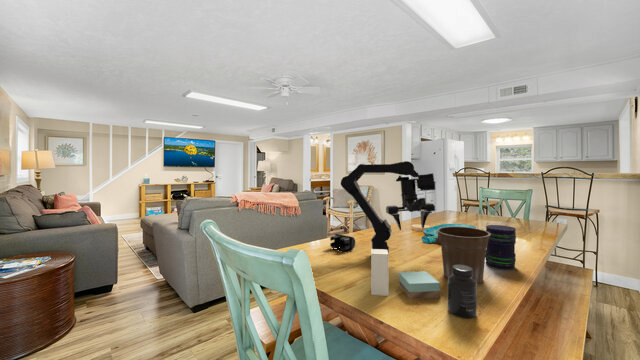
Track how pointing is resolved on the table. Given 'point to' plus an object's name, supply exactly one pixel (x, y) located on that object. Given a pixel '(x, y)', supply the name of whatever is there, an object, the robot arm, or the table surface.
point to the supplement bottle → (462, 292)
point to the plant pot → (464, 249)
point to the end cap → (342, 242)
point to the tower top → (419, 281)
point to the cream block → (379, 272)
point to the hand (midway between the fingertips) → (411, 229)
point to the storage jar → (501, 247)
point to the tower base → (420, 293)
